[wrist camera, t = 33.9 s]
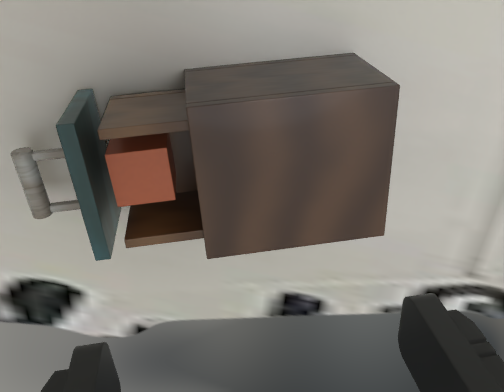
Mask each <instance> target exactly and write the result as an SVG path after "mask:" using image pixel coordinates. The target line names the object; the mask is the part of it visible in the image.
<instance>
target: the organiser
mask: <svg viewBox="0 0 504 392" xmlns="http://www.w3.org/2000/svg"><path fill="white" fill-rule="evenodd" d="M184 72H185V96H186V112H187V119H188V126H189V133H190V140H191V148H192V155H193V162H194V169H195V176H196V183H197V191H198V198H199V205H200V212H201V219H202V226H203V234H204V241H205V248H206V255H207V259H211V258H219V257H226V256H234V255H241V254H249V253H256V252H264V251H271V250H279V249H286V248H294V247H301V246H308V245H316V244H323V243H331V242H338V241H346V240H353V239H361V238H368V237H376V236H383V235H384V231H385V222H386V212H387V203H388V193H389V184H390V175H391V165H392V156H393V146H394V137H395V127H396V118H397V108H398V99H399V89H400V85H399V84H397V83H396V82H395V81H393V80H392V79H390V78H389V77H387V76H386V75H385V74H383V73H382V72H380V71H379V70H377V69H376V68H375V67H373V66H372V65H370V64H369V63H368V62H366V61H365V60H363V59H362V58H360V57H359V56H358V55H356V54H355V53H348V54H338V55H328V56H317V57H307V58H297V59H286V60H276V61H266V62H255V63H245V64H235V65H224V66H214V67H204V68H193V69H185V70H184Z"/></svg>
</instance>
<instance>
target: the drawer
mask: <svg viewBox="0 0 504 392" xmlns="http://www.w3.org/2000/svg"><path fill="white" fill-rule="evenodd" d="M56 128H57V132H58V135H59V138H60V142H61V145H62V148H58V149H49V150H40V151H34V152H33V150H32V148H29V147H24V148H19V149H16V150H14V151H12V152H11V157H12V159H13V162H14V165H15V168H16V170H17V173H18V176H19V179H20V182H21V184H22V187H23V190H24V193H25V195H26V198H27V201H28V204H29V206H30V209H31V212H32V215H33V217H34V218H35V219H43V218H46V217H48V216H50V215H51V214H52V213H53V212H59V211H68V210H76V209H81V213H82V216H83V219H84V223H85V226H86V229H87V233H88V236H89V239H90V243H91V246H92V250H93V253H94V256H95V260H96V261H97V260H105V259H111V255H112V250H113V245H114V241H115V236H116V231H117V226H118V221H119V216H120V211H121V207H118V206H117V202H116V198H115V194H114V190H113V186H112V182H111V179H110V175H109V171H108V167H107V163H106V159H105V153H106V150H107V146H106V142H105V140H107V139H116V138H125V137H134V136H144V135H153V134H162V133H169V135H170V141H171V147H172V153H173V159H174V165H175V171H176V200H170V201H163V202H155V203H147V204H139V205H131V206H130V211H129V217H128V222H127V228H126V234H125V240H124V241H125V245H126V248H131V247H138V246H146V245H154V244H162V243H169V242H177V241H185V240H192V239H200V238H204V234H203V226H202V219H201V212H200V205H199V198H198V191H197V183H196V176H195V169H194V162H193V155H192V148H191V140H190V133H189V126H188V119H187V112H186V96H185V89H181V90H171V91H161V92H151V93H141V94H131V95H121V96H111V97H110V100H109V103H108V105H107V107H106V110H105V112H104V115H103V117H102V120H101V122H100V118H99V113H98V109H97V105H96V101H95V97H94V93H93V89H85V90H78V91H77V92H76V94H75V96H74V97H73V99H72V100H71V102H70V104H69V105H68V107H67V108H66V110H65V112H64V113H63V115H62V116H61V118H60V120H59V121H58V123H57V124H56ZM58 158H65V159H66V162H67V165H68V169H69V172H70V175H71V179H72V182H73V186H74V189H75V192H76V196H77V199H78V200H72V201H64V202H56V203H51V204H50V201H49V198H48V195H47V192H46V189H45V186H44V183H43V180H42V177H41V174H40V171H39V168H38V165H37V162H36V161H40V160H49V159H58Z"/></svg>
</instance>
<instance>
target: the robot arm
mask: <svg viewBox="0 0 504 392" xmlns="http://www.w3.org/2000/svg"><path fill="white" fill-rule="evenodd" d="M398 342H399V348H400V352H401V355H402V357H403V359H404V361H405V363H406V365H407V367H408V369H409V371H410V373H411V375H412V377H413V379H414V380H415V382H416V384H417V386H418V388H419V390H420V392H504V362H503V360H502V359H501V358H500V357H499V355H497V354H496V351H495V350H494V348H493V347H492V346H491V345H490V343H489V342H487V341H486V338H485V337H484V335H483V334H482V333H481V331H480V330H479V329H478V327H477V326H476V325H475V323H474V322H473V321H471V320H470V319H468V318H467V317H466V316H464V315H463V314H461V313H460V312H459V311H457V310H450V311H447V310H446V308H445V307H444V306H443V304H442V303H441V301H440V300H439V298H438V297H437V296H436V295H435V294H433V293H429V294H423V295H416V296H409V297H405V298H404V300H403V305H402V312H401V320H400V326H399V333H398ZM41 392H121V389H120V382H119V378H118V375H117V371H116V368H115V366H114V362H113V359H112V356H111V353H110V349H109V346H108V344H107V343H106V342H103V343H96V344H89V345H83V346H76V347H75V349H74V351H73V354H72V358H71V362H70V367H69V369H67V370H60V371H55V372H54V374H53V375H52V376H51V378H50V379H49V380H48V382H47V383H46V384H45V386H44V387H43V389H42V390H41Z"/></svg>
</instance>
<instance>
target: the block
mask: <svg viewBox="0 0 504 392" xmlns="http://www.w3.org/2000/svg"><path fill="white" fill-rule="evenodd" d="M105 159H106V163H107V167H108V171H109V175H110V179H111V182H112V186H113V190H114V194H115V198H116V202H117V206H118V207H123V206H131V205H139V204H147V203H155V202H163V201H170V200H176V171H175V165H174V159H173V153H172V147H171V141H170V135H169V133H162V134H153V135H144V136H134V137H125V138H116V139H110V140H109V143H108V146H107V150H106V153H105Z"/></svg>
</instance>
